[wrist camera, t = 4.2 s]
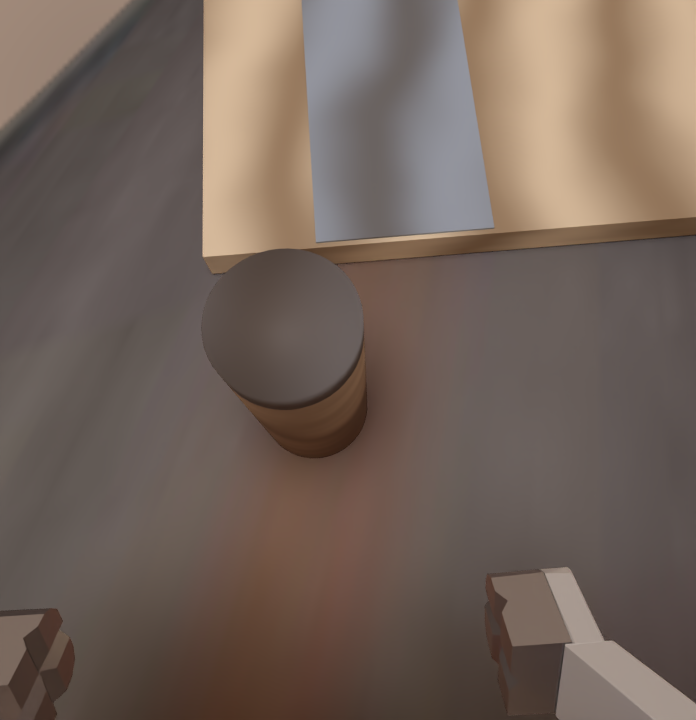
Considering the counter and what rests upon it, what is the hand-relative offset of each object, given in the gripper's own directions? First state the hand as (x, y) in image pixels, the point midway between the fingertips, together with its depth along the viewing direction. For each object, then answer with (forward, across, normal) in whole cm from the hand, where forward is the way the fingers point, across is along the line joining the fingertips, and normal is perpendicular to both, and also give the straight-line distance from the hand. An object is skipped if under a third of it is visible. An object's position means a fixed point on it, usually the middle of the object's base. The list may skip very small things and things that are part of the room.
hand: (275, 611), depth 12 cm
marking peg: (+12, 0, +3) cm, 12 cm away
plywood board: (+21, -8, -6) cm, 24 cm away
